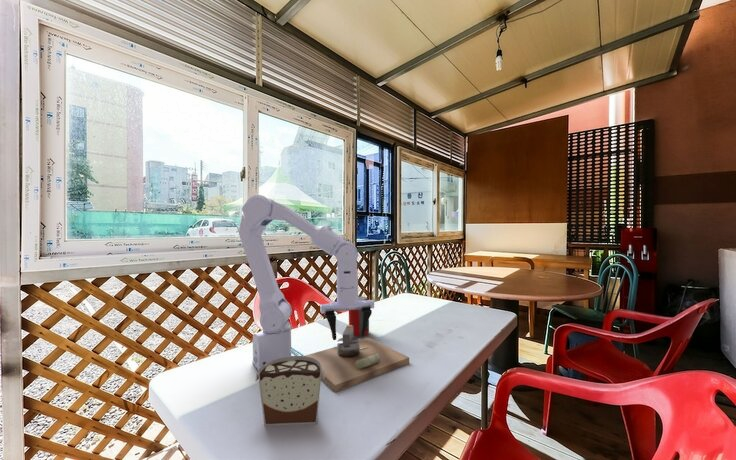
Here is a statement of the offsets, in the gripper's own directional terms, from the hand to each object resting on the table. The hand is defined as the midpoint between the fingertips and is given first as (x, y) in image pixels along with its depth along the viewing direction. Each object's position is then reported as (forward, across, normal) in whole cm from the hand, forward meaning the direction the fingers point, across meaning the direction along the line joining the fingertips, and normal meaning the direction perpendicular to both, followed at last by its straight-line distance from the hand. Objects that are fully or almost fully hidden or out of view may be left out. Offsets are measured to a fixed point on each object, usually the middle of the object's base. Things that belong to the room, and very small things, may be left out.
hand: (348, 336), depth 79 cm
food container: (+6, +15, +20) cm, 26 cm away
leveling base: (+6, -1, +3) cm, 7 cm away
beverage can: (+6, -8, -17) cm, 20 cm away
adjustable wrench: (+6, +15, -12) cm, 20 cm away
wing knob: (+4, 0, 0) cm, 4 cm away
